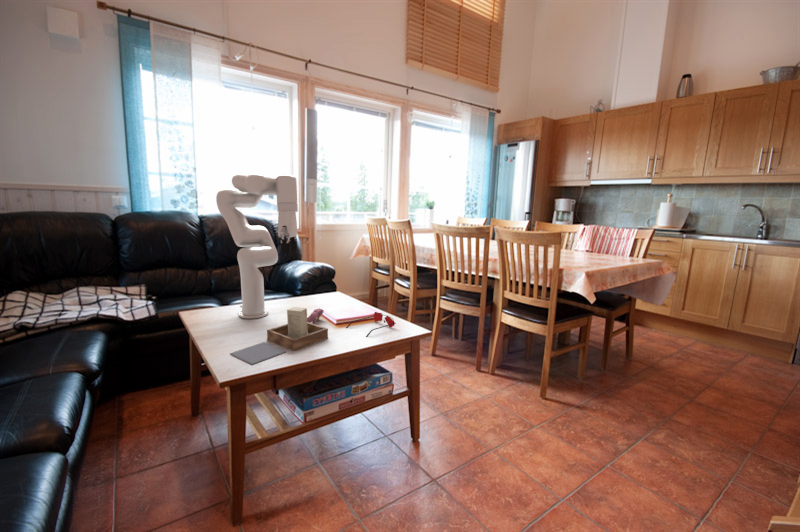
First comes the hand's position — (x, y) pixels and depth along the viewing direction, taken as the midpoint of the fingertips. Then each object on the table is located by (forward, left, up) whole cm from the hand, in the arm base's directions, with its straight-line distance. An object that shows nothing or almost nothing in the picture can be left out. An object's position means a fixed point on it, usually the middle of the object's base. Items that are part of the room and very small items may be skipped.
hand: (289, 252), depth 142 cm
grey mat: (+9, -21, -33) cm, 40 cm away
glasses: (+22, +24, -33) cm, 47 cm away
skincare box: (+9, -4, -33) cm, 34 cm away
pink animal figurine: (-2, +14, -33) cm, 36 cm away
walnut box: (+9, -4, -33) cm, 34 cm away
